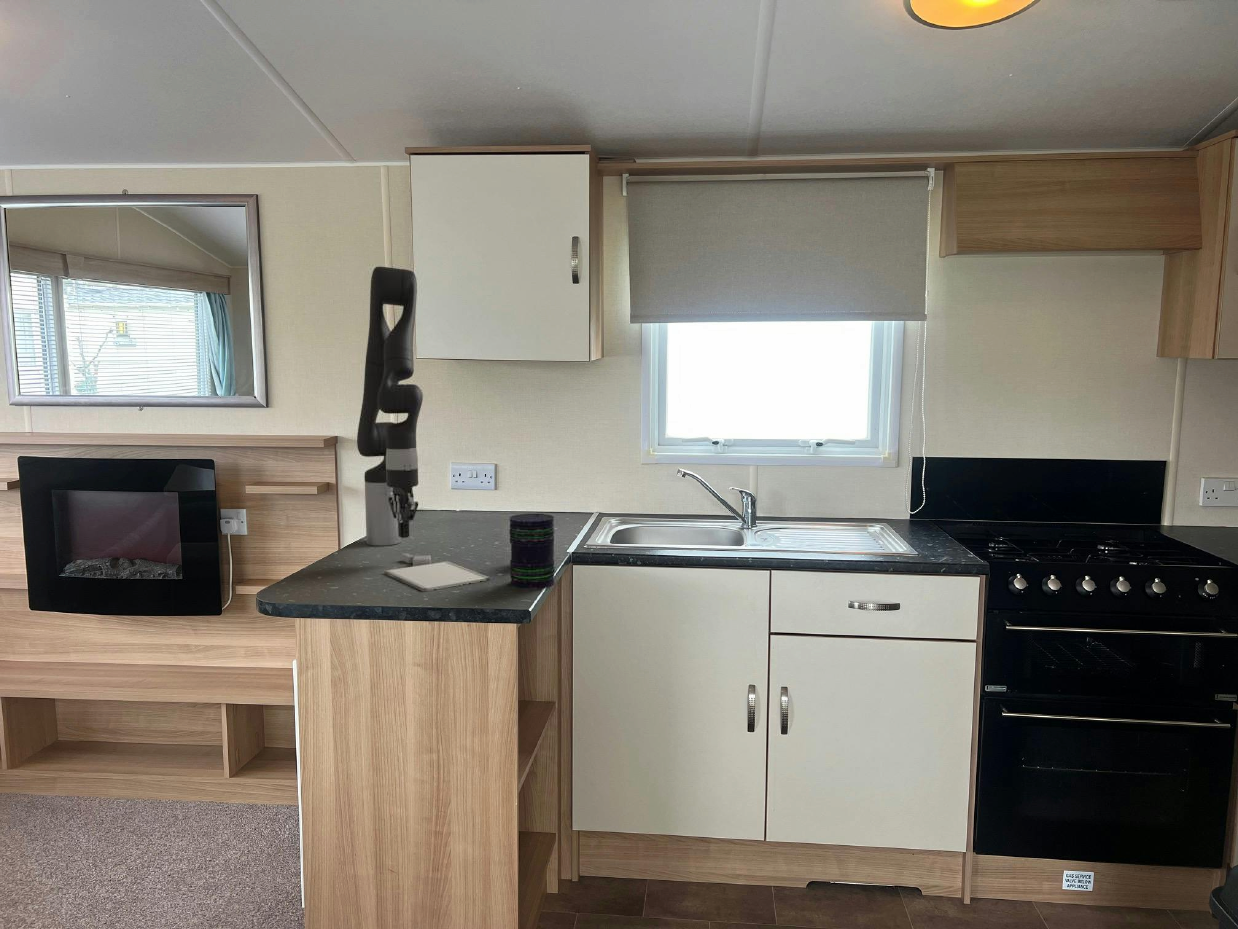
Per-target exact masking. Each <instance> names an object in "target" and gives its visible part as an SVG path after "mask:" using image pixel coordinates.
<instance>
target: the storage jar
mask: <svg viewBox="0 0 1238 929" xmlns="http://www.w3.org/2000/svg"><path fill="white" fill-rule="evenodd" d="M554 519H555V517H554V515H552V514H551V515H550V514H547V513H544V514H543V513H523V514H516V515H514V514H513V515H511V516H510V517H509V543H510V551H511V555H510V561H509V562H510V563H509V564H510V566H509V574H510V580H511V581H510V586H511V588H515V589H520V590H541V589H548V588H550V587H553V586H554V585H555V580H554V577H555V574H554V573H555V572H556V571H555V558H554V559H553V542H554V543H555V535H554V534H555V528H554V527H555V523H554Z"/></svg>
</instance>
